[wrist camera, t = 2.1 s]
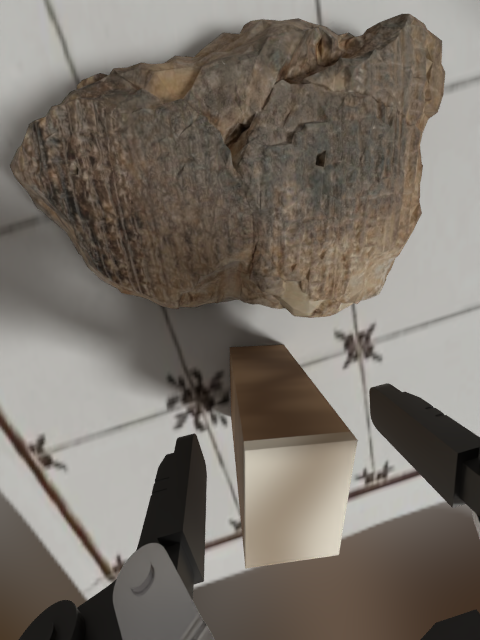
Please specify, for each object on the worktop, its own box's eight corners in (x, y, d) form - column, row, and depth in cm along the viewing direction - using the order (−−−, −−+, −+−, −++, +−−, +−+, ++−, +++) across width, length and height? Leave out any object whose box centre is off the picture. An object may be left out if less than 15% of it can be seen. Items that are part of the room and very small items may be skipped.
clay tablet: (86, 314, 15) (371, 306, 16) (24, 339, 10) (432, 324, 12) (35, 45, 11) (404, 67, 13) (-99, -110, 7) (511, -46, 8)
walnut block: (283, 344, 16) (357, 440, 8) (280, 413, 18) (338, 554, 9) (229, 347, 16) (245, 450, 7) (231, 417, 18) (245, 568, 9)
